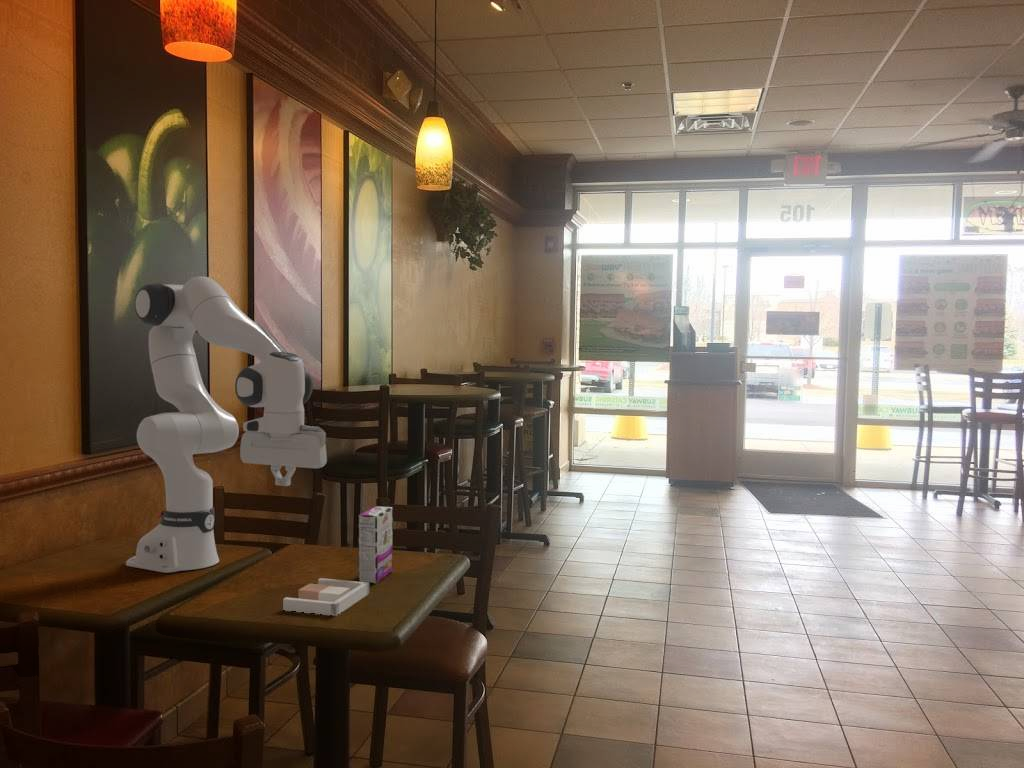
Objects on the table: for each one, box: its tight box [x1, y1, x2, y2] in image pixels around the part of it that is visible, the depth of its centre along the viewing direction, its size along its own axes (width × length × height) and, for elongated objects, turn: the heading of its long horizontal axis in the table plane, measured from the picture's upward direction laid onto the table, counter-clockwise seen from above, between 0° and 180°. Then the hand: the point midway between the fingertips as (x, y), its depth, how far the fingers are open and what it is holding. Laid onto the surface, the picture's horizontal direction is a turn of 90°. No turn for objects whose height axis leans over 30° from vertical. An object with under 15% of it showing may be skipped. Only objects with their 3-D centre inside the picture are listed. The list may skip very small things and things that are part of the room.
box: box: [282, 577, 370, 617], centre depth 174 cm, size 12×16×2 cm
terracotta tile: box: [297, 583, 330, 600], centre depth 175 cm, size 5×5×3 cm
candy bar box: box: [358, 505, 394, 584], centre depth 194 cm, size 11×5×16 cm, turn 168°
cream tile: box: [318, 586, 350, 602], centre depth 174 cm, size 5×5×3 cm
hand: (282, 485), depth 180 cm, fingers closed
